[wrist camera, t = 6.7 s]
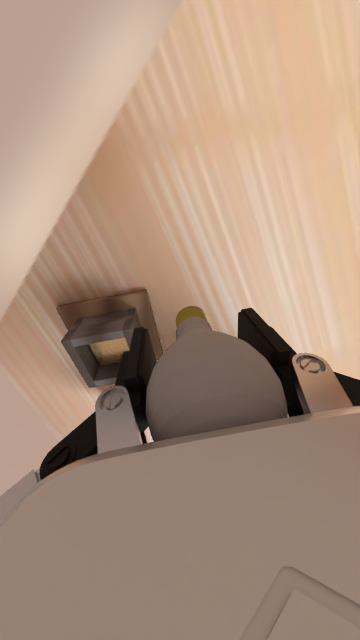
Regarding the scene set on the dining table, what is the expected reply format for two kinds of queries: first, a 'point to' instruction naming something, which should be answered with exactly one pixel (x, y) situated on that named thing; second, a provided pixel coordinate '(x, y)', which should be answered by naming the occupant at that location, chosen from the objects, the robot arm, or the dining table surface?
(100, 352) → the plate
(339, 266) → the dining table surface
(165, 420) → the light bulb
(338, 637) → the robot arm
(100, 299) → the socket block
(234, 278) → the dining table surface
